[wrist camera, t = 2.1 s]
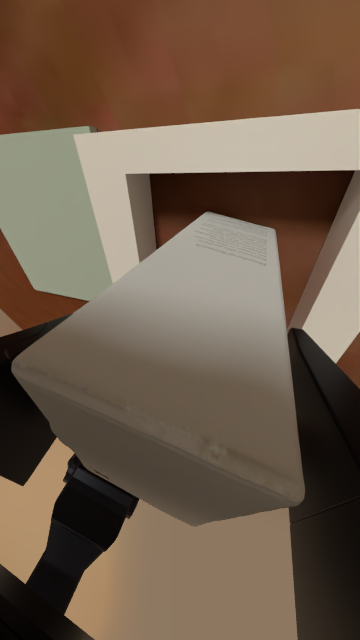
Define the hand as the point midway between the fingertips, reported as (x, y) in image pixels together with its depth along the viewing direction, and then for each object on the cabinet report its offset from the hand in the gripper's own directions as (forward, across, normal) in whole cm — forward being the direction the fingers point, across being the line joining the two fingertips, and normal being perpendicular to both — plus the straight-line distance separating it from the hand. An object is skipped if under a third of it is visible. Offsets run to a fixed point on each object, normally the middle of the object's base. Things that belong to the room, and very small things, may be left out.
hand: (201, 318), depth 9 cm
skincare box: (+6, 0, 0) cm, 6 cm away
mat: (+6, +14, -1) cm, 15 cm away
